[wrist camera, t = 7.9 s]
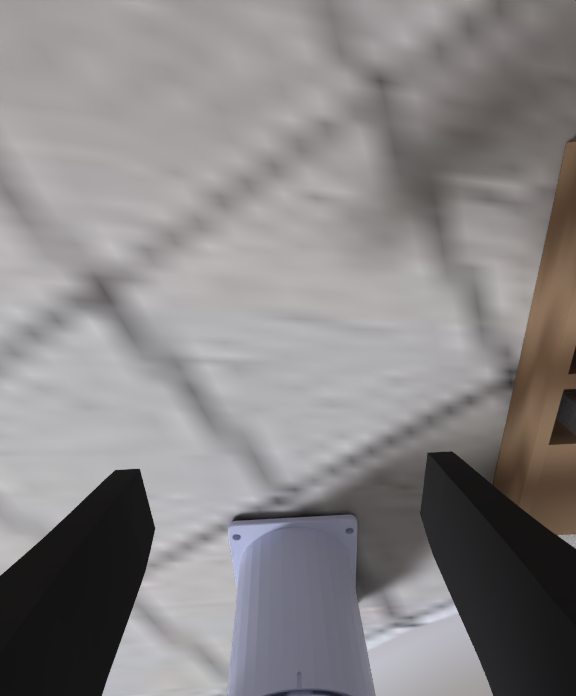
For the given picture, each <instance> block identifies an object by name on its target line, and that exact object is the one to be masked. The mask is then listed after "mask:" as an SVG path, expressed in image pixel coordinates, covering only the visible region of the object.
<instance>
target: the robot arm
mask: <svg viewBox="0 0 576 696" xmlns="http://www.w3.org/2000/svg"><path fill="white" fill-rule="evenodd" d="M420 514H421V518H422V521H423V524H424V528H425V531H426V534H427V537H428V541H429V544H430V547H431V550H432V553H433V556H434V558H435V560H436V563H437V565H438V567H439V570H440V572H441V574H442V576H443V579H444V581H445V583H446V585H447V588H448V590H449V592H450V594H451V597H452V599H453V601H454V603H455V606H456V608H457V610H458V612H459V615H460V617H461V619H462V621H463V623H464V626H465V628H466V630H467V633H468V635H469V637H470V639H471V641H472V644H473V646H474V648H475V651H476V653H477V655H478V657H479V660H480V662H481V665H482V667H483V670H484V672H485V675H486V677H487V680H488V682H489V685H490V688H491V691H492V693H493V696H576V549H575V548H574V547H572V546H571V545H569V544H568V543H567V542H565V541H564V540H562V539H561V538H560V537H558V536H557V535H556V534H554V533H553V532H551V531H550V530H549V529H547V528H546V527H545V526H544V525H542V524H541V523H540V522H538V521H537V520H536V519H534V518H533V517H532V516H530V515H529V514H528V513H527V512H525V511H524V510H523V509H522V508H520V507H519V506H518V505H517V504H515V503H514V502H513V501H512V500H510V499H509V498H508V497H507V496H505V495H504V494H503V493H502V492H500V491H499V490H498V489H497V488H496V487H494V486H493V485H492V484H491V483H490V482H488V481H487V480H486V479H485V478H484V477H482V476H481V475H480V474H479V473H478V472H476V471H475V470H474V469H473V468H472V467H470V466H469V465H468V464H467V463H466V462H464V461H463V460H462V459H461V458H460V457H458V456H457V455H456V454H455V453H453V452H435V453H428V455H427V463H426V471H425V479H424V488H423V496H422V504H421V512H420ZM357 526H358V524H357V519H356V517H355V516H353V515H332V516H314V517H296V518H278V519H260V520H242V521H233V522H231V523H230V524H229V526H228V536H229V543H230V549H231V556H232V562H233V569H234V575H235V582H236V588H237V598H236V608H235V618H234V629H233V639H232V650H231V660H230V670H229V681H228V691H227V696H376V695H375V690H374V685H373V679H372V674H371V669H370V664H369V658H368V653H367V648H366V642H365V637H364V632H363V627H362V621H361V616H360V611H359V605H358V600H357V595H356V590H355V585H356V555H357ZM347 528H350V529H347ZM154 531H155V526H154V522H153V518H152V515H151V511H150V507H149V503H148V499H147V495H146V491H145V487H144V484H143V480H142V476H141V472H140V469H128V470H115V471H114V472H113V473H112V474H111V475H110V476H108V477H107V478H106V479H105V480H104V481H103V482H102V483H101V484H100V485H99V486H98V487H97V488H96V489H95V490H94V491H93V492H92V493H91V494H89V495H88V496H87V497H86V498H85V499H84V500H83V501H82V502H81V503H80V504H79V505H78V506H77V507H76V508H75V509H74V510H73V511H72V512H71V513H70V514H69V515H68V516H66V517H65V518H64V519H63V520H62V521H61V522H60V523H59V524H58V525H57V526H56V527H55V528H54V529H53V530H52V531H50V532H49V533H48V534H47V535H46V536H45V537H44V538H43V539H42V540H41V541H40V542H39V543H37V544H36V545H35V546H34V547H33V548H32V549H31V550H29V551H28V552H27V553H26V554H25V555H24V556H23V557H21V558H20V559H19V560H18V561H17V562H16V563H15V564H13V565H12V566H11V567H10V568H9V569H8V570H7V571H5V572H4V573H3V574H2V575H1V576H0V696H102V693H103V690H104V687H105V684H106V681H107V678H108V675H109V672H110V669H111V667H112V664H113V661H114V658H115V655H116V653H117V650H118V647H119V644H120V641H121V639H122V636H123V633H124V630H125V627H126V625H127V622H128V619H129V616H130V614H131V611H132V608H133V605H134V602H135V599H136V597H137V594H138V591H139V588H140V585H141V582H142V579H143V576H144V573H145V570H146V566H147V562H148V558H149V554H150V550H151V545H152V541H153V536H154ZM235 534H238V535H235Z"/></svg>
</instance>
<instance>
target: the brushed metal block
mask: <svg viewBox="0 0 576 696" xmlns="http://www.w3.org/2000/svg"><path fill="white" fill-rule="evenodd" d="M575 348H576V347H575ZM556 419H557V420H558V421H559V422H560V423H561V424H562V425H564V426H565V427H566V428H567V429H568V430H569V431H571V432H572V433H573V434H574V435H575V436H576V389H564V391H563V394H562V398H561V401H560V405H559V409H558V412H557V416H556Z"/></svg>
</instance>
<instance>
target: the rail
mask: <svg viewBox="0 0 576 696" xmlns="http://www.w3.org/2000/svg"><path fill="white" fill-rule="evenodd" d="M575 347H576V142H567V143H566V148H565V152H564V157H563V162H562V166H561V171H560V176H559V180H558V185H557V190H556V194H555V199H554V203H553V208H552V213H551V217H550V222H549V227H548V231H547V236H546V241H545V245H544V250H543V254H542V259H541V264H540V268H539V273H538V278H537V282H536V287H535V292H534V296H533V301H532V305H531V310H530V315H529V319H528V324H527V329H526V333H525V338H524V343H523V347H522V352H521V356H520V361H519V366H518V370H517V375H516V380H515V384H514V389H513V394H512V398H511V403H510V407H509V412H508V417H507V421H506V426H505V431H504V435H503V440H502V445H501V449H500V454H499V458H498V463H497V468H496V472H495V477H494V482H493V486H494V487H496V488H497V489H498V490H499V491H500V492H502V493H503V494H504V495H505V496H507V497H508V498H509V499H510V500H512V501H513V502H514V503H515V504H517V505H518V506H519V507H520V508H522V509H523V510H524V511H525V512H527V513H528V514H529V515H530V516H532V517H533V518H534V519H536V520H537V521H538V522H540V523H541V524H542V525H544V526H545V527H546V528H547V529H549V530H550V531H551V532H553V533H554V534H556V535H567V534H576V436H575V435H574V434H573V433H572V432H571V431H569V430H568V429H567V428H566V427H565V426H564V425H562V424H561V423H560V422H559V421H558V420H557V419H556V416H557V412H558V409H559V405H560V401H561V398H562V394H563V391H564V389H576V349H575Z"/></svg>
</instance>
